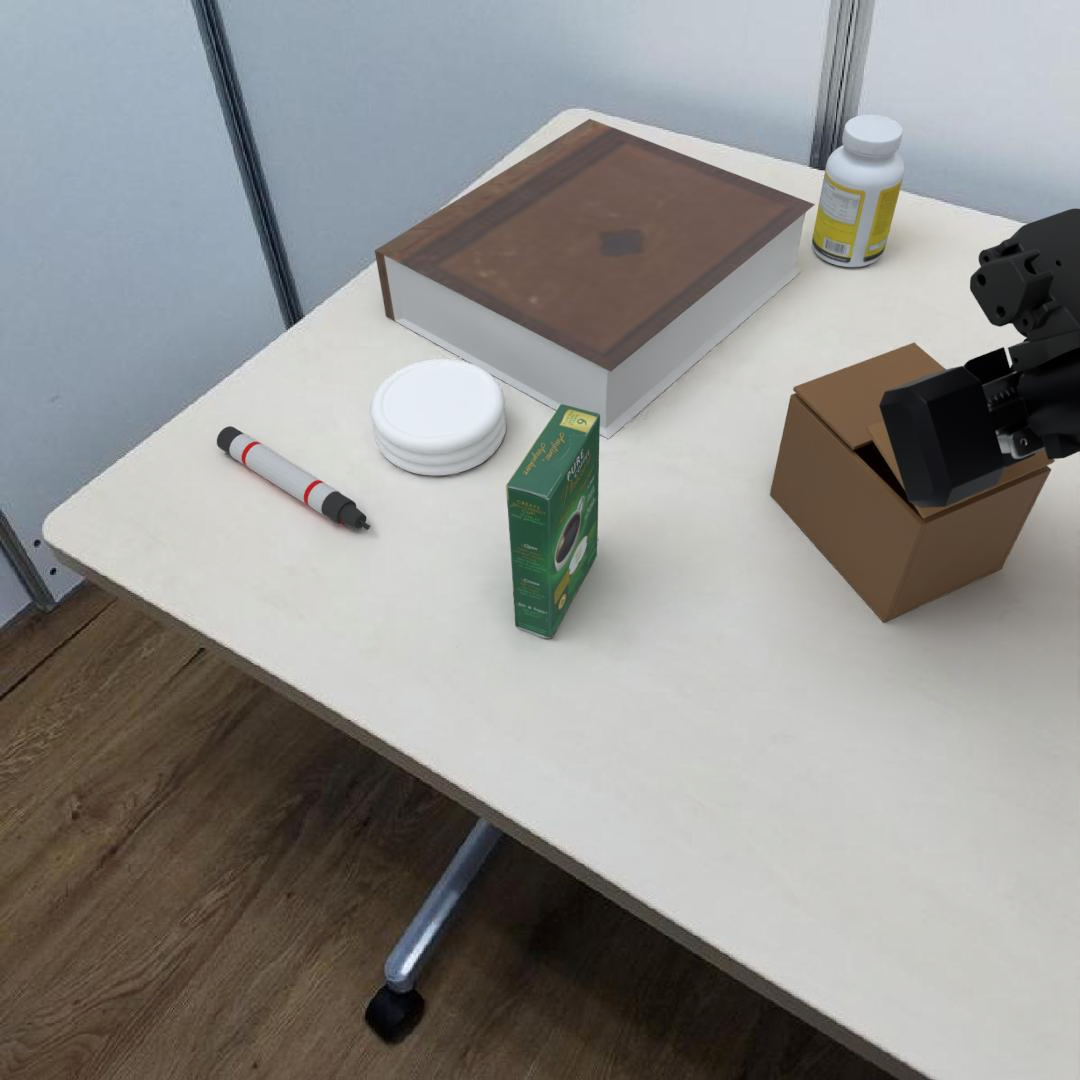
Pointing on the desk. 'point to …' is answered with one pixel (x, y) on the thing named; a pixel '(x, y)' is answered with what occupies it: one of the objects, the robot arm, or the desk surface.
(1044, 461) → the flap
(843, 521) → the carton
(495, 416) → the white round container
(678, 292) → the book
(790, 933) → the desk surface
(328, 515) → the marker
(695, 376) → the desk surface
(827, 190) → the pill bottle
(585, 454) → the coffee box
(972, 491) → the robot arm
